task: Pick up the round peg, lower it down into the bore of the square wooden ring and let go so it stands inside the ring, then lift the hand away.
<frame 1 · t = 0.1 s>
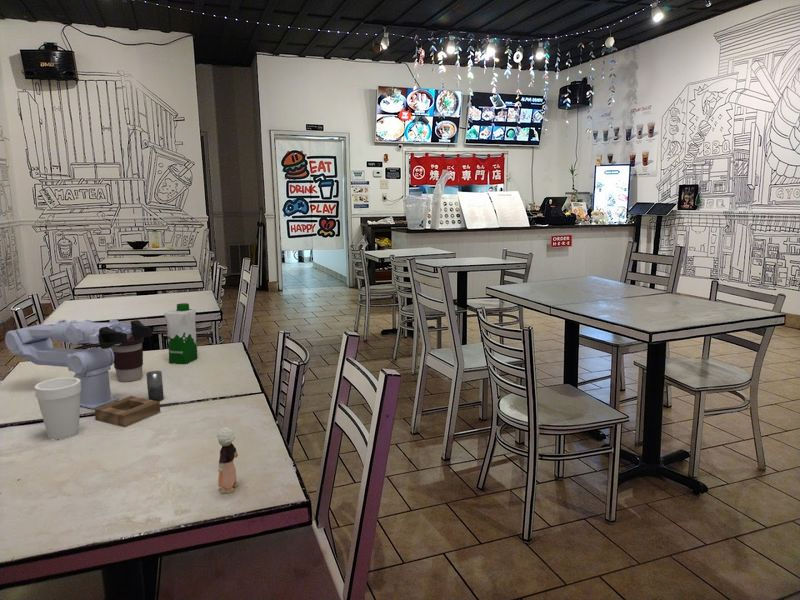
hand: (138, 335, 148), 22 cm above the table, tool horizontal, fingers open, 7 cm apart
square wooden ring: (128, 416, 150), on the table
round peg: (156, 399, 162), on the table
grandmother figurine: (228, 490, 112), on the table
coffee cup: (130, 379, 181), on the table
foam cup: (63, 435, 138), on the table
milk carton: (183, 361, 200), on the table
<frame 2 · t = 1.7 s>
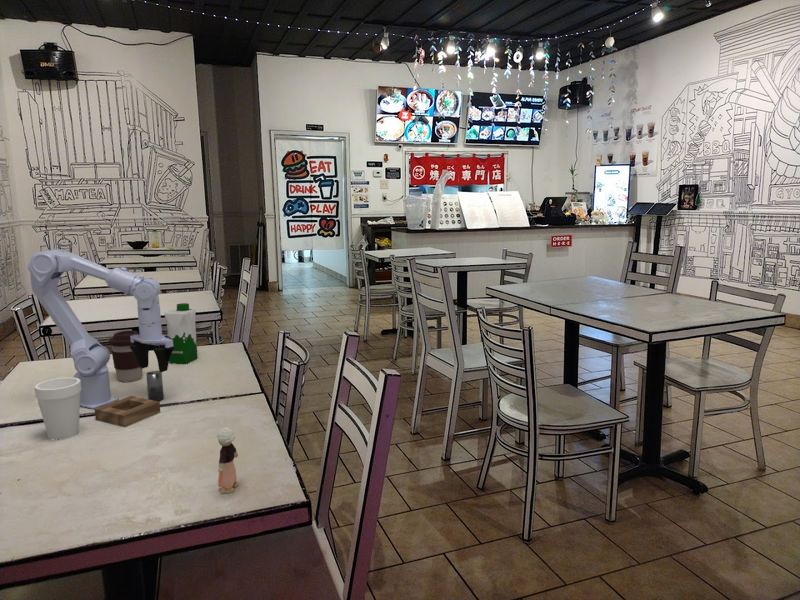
hand: (153, 369, 160), 9 cm above the table, tool pointing down, fingers open, 7 cm apart
nothing on the table moved.
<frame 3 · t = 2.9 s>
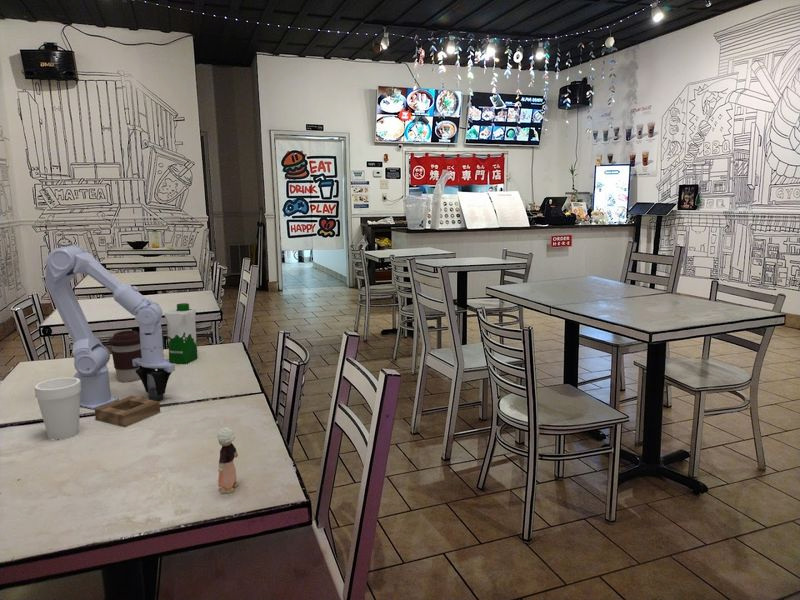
hand: (155, 392, 162), 2 cm above the table, tool pointing down, fingers closed on round peg, 4 cm apart
round peg: (156, 399, 162), on the table, touching gripper
everything else where it was.
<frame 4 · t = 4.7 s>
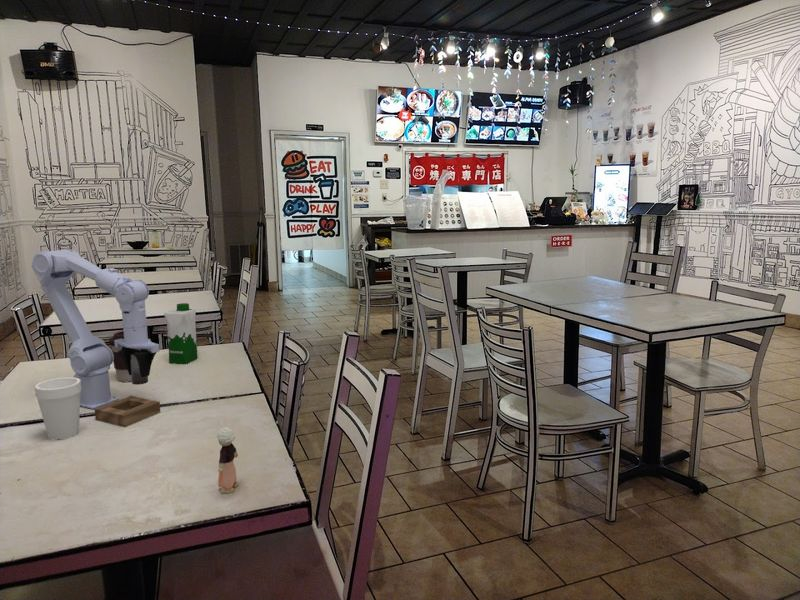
hand: (139, 375, 154), 9 cm above the table, tool pointing down, fingers closed on round peg, 4 cm apart
round peg: (140, 382, 154), point 7 cm above the table, touching gripper
everything else where it was.
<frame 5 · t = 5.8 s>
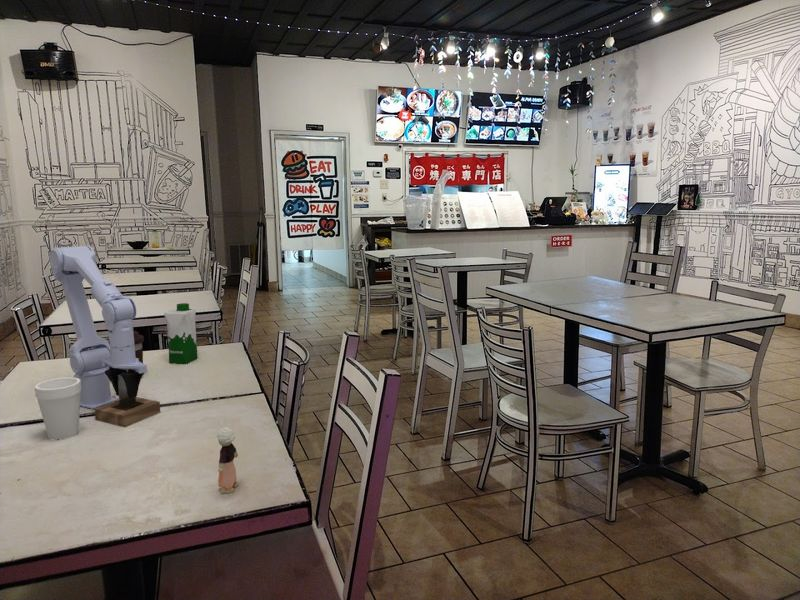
hand: (126, 395, 149), 6 cm above the table, tool pointing down, fingers closed on round peg, 4 cm apart
round peg: (127, 403, 149), point 4 cm above the table, touching gripper
everything else where it was.
when the fingers open (3 cm above the table, at t = 6.6 s): round peg drops 1 cm, resting in square wooden ring.
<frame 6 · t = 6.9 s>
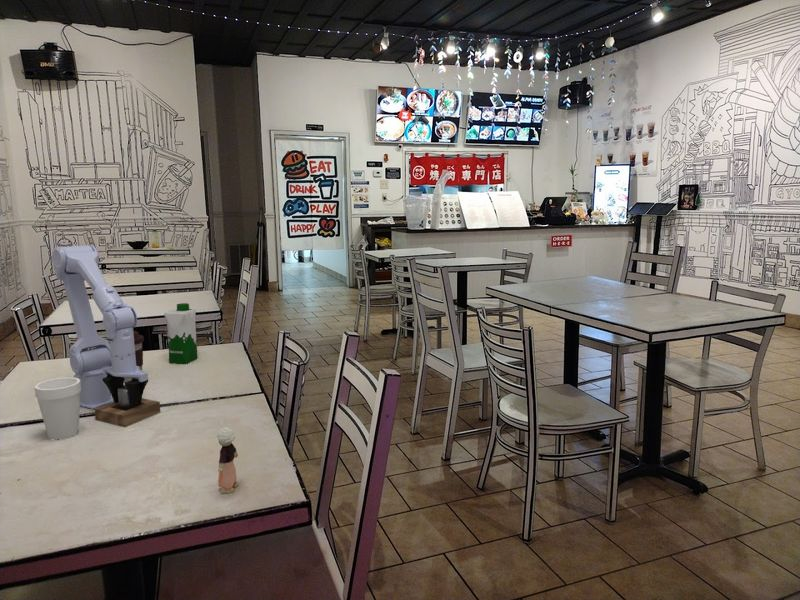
hand: (127, 403, 149), 3 cm above the table, tool pointing down, fingers open, 6 cm apart
round peg: (128, 415, 150), resting in square wooden ring
everything else where it was.
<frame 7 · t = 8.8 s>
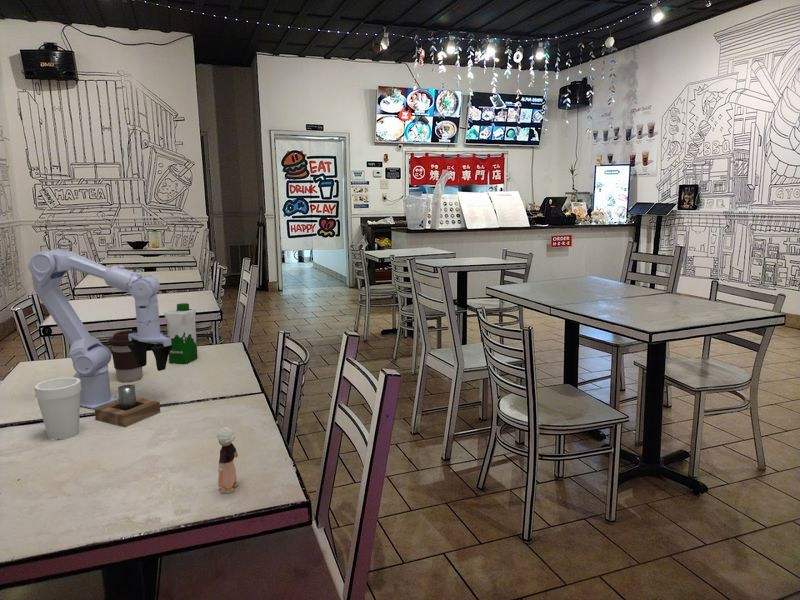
hand: (151, 368, 158), 10 cm above the table, tool pointing down, fingers open, 7 cm apart
nothing on the table moved.
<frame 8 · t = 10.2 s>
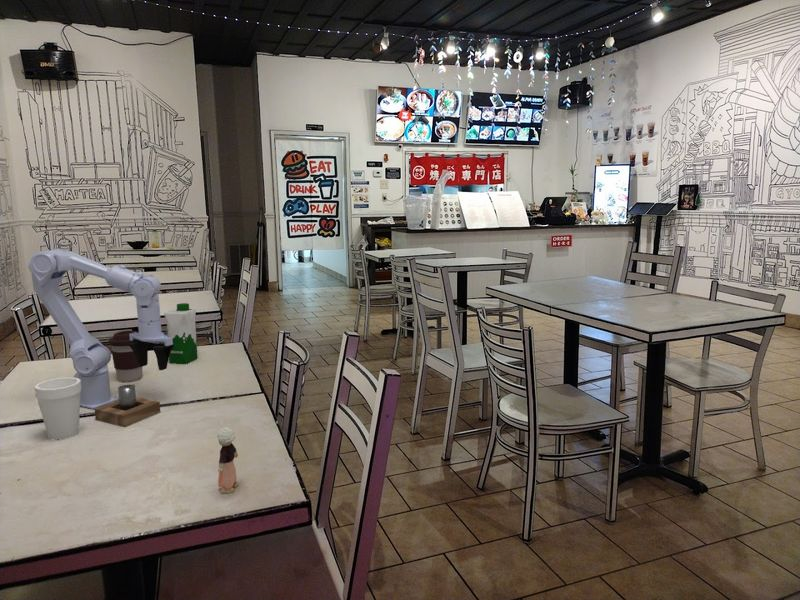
hand: (153, 367, 159), 10 cm above the table, tool pointing down, fingers open, 7 cm apart
nothing on the table moved.
at the end: round peg 0.1 cm off-centre on the square wooden ring, point 0.0 cm above the square wooden ring's base; round peg tilted 0°; the gripper is holding nothing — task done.
